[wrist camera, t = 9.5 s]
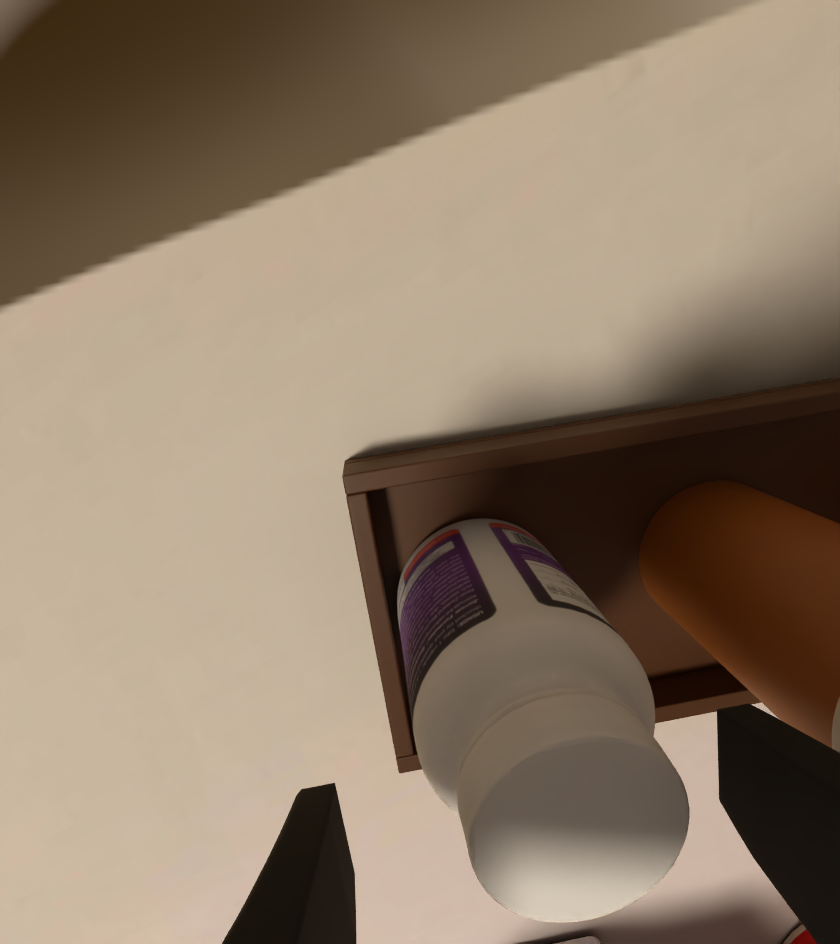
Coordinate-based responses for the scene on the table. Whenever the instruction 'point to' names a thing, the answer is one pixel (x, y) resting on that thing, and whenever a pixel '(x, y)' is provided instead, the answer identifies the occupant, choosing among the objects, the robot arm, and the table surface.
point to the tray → (594, 516)
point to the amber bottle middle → (755, 594)
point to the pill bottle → (535, 726)
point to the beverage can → (800, 937)
